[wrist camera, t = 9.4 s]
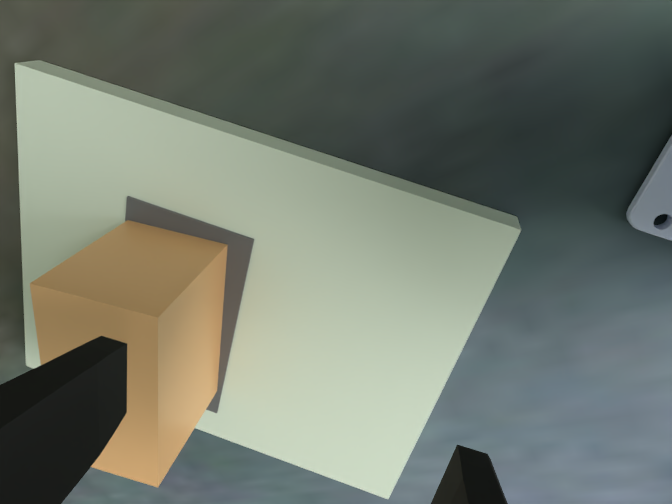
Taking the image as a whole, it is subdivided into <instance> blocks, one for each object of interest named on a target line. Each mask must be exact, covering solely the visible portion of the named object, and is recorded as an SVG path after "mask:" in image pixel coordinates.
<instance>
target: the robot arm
mask: <svg viewBox="0 0 672 504" xmlns="http://www.w3.org/2000/svg"><path fill="white" fill-rule="evenodd" d="M661 214H667V215H668V217H667V220H666V221H665V222H664V223H662V224H660V225H654V224H653V223H654V219H655V218H656V217H657V216H659V215H661ZM626 216H627V220H628V221H629V223H630V224H631V225H632V226H633V227H634V228H636V229H637V230H640V231H643V232H646V233H649V234H652V235H655V236H658V237H661V238H664V239H667V240H671V241H672V135H671V137H670V139H669V140H668V142H667V144H666V145H665V147H664V149H663V150H662V152H661V154H660V155H659V157H658V159H657V160H656V162H655V164H654V165H653V167H652V169H651V170H650V172H649V174H648V176H647V177H646V179H645V181H644V182H643V184H642V186H641V187H640V189H639V191H638V192H637V194H636V196H635V197H634V199H633V201H632V202H631V204H630V206H629V207H628V210H627V213H626ZM126 413H127V343H124V342H121V341H117V340H114V339H111V338H108V337H104V336H99V337H97V338H95V339H93V340H91V341H89V342H87V343H85V344H83V345H81V346H79V347H77V348H75V349H73V350H71V351H69V352H67V353H65V354H63V355H61V356H59V357H57V358H55V359H53V360H51V361H49V362H47V363H45V364H43V365H41V366H39V367H37V368H35V369H32V370H30V371H28V372H26V373H24V374H22V375H20V376H18V377H16V378H14V379H12V380H10V381H8V382H6V383H4V384H1V385H0V504H61V503H62V502H63V500H64V499H65V498H66V497H67V496H68V494H69V493H70V492H71V491H72V489H73V488H74V487H75V486H76V484H77V483H78V482H79V481H80V479H81V478H82V477H83V476H84V475H85V473H86V472H87V471H88V470H89V468H90V467H91V466H92V465H93V463H94V462H95V461H96V459H97V458H98V457H99V456H100V454H101V453H102V451H103V450H104V448H105V447H106V445H107V443H108V442H109V440H110V439H111V437H112V436H113V434H114V433H115V431H116V429H117V428H118V426H119V424H120V423H121V421H122V420H123V418H124V416H125V415H126ZM431 504H508V503H507V501H506V498H505V496H504V493H503V491H502V488H501V486H500V483H499V481H498V478H497V475H496V473H495V470H494V467H493V465H492V462H491V460H490V458H489V456H488V454H486V453H483V452H479V451H476V450H473V449H470V448H466V447H463V446H460V445H457V447H456V449H455V451H454V453H453V456H452V458H451V460H450V462H449V465H448V467H447V469H446V471H445V473H444V476H443V478H442V480H441V482H440V485H439V487H438V489H437V491H436V494H435V496H434V498H433V500H432V503H431Z"/></svg>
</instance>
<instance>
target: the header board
mask: <svg viewBox="0 0 672 504" xmlns="http://www.w3.org/2000/svg"><path fill="white" fill-rule="evenodd" d="M15 86H16V113H17V139H18V166H19V193H20V220H21V246H22V273H23V300H24V326H25V353H26V366H28V367H31V368H34V369H35V368H37V367H39V366H41V362H40V355H39V348H38V341H37V333H36V326H35V319H34V311H33V304H32V297H31V290H30V283H31V282H32V281H34V280H36V279H37V278H39V277H40V276H42V275H43V274H45V273H46V272H48V271H50V270H51V269H53V268H54V267H56V266H57V265H59V264H60V263H62V262H63V261H65V260H67V259H68V258H70V257H71V256H73V255H74V254H76V253H77V252H79V251H80V250H82V249H84V248H85V247H87V246H88V245H90V244H91V243H93V242H94V241H96V240H97V239H99V238H101V237H102V236H104V235H105V234H107V233H108V232H110V231H111V230H113V229H115V228H116V227H118V226H119V225H121V224H122V223H124V222H125V221H127V220H130V221H134V222H138V223H142V224H146V225H150V226H154V227H158V228H162V229H166V230H170V231H174V232H178V233H182V234H186V235H190V236H195V237H199V238H203V239H207V240H211V241H215V242H219V243H223V244H227V245H228V247H227V261H226V274H225V288H224V302H223V316H222V330H221V344H220V358H219V372H218V386H217V392H216V394H215V395H214V397H213V399H212V400H211V402H210V404H209V405H208V407H207V408H206V410H205V412H204V413H203V415H202V417H201V418H200V420H199V421H198V423H197V425H196V426H195V428H196V429H199V430H202V431H204V432H207V433H210V434H213V435H215V436H218V437H221V438H223V439H226V440H229V441H231V442H234V443H237V444H240V445H242V446H245V447H248V448H250V449H253V450H256V451H259V452H261V453H264V454H267V455H269V456H272V457H275V458H277V459H280V460H283V461H286V462H288V463H291V464H294V465H296V466H299V467H302V468H305V469H307V470H310V471H313V472H315V473H318V474H321V475H324V476H326V477H329V478H332V479H334V480H337V481H340V482H342V483H345V484H348V485H351V486H353V487H356V488H359V489H361V490H364V491H367V492H370V493H372V494H375V495H378V496H380V497H383V498H386V499H389V497H390V495H391V493H392V491H393V489H394V486H395V484H396V482H397V480H398V478H399V476H400V474H401V472H402V470H403V468H404V466H405V464H406V462H407V460H408V458H409V456H410V454H411V452H412V450H413V448H414V446H415V444H416V442H417V440H418V438H419V436H420V434H421V432H422V430H423V428H424V426H425V424H426V422H427V420H428V418H429V416H430V414H431V412H432V410H433V408H434V406H435V404H436V402H437V400H438V398H439V396H440V394H441V392H442V390H443V388H444V385H445V383H446V381H447V379H448V377H449V375H450V373H451V371H452V369H453V367H454V365H455V363H456V361H457V359H458V357H459V355H460V353H461V351H462V349H463V347H464V345H465V343H466V341H467V339H468V337H469V335H470V333H471V331H472V329H473V327H474V325H475V323H476V321H477V319H478V317H479V315H480V313H481V311H482V309H483V307H484V305H485V303H486V301H487V299H488V297H489V295H490V293H491V291H492V289H493V287H494V285H495V282H496V280H497V278H498V276H499V274H500V272H501V270H502V268H503V266H504V264H505V262H506V260H507V258H508V256H509V254H510V252H511V250H512V248H513V246H514V244H515V242H516V240H517V238H518V236H519V234H520V232H521V227H520V224H519V221H518V218H517V216H514V215H511V214H508V213H505V212H501V211H498V210H495V209H492V208H489V207H486V206H483V205H480V204H477V203H474V202H471V201H468V200H465V199H462V198H459V197H456V196H453V195H450V194H447V193H444V192H441V191H437V190H434V189H431V188H428V187H425V186H422V185H419V184H416V183H413V182H410V181H407V180H404V179H401V178H398V177H395V176H392V175H389V174H386V173H383V172H380V171H376V170H373V169H370V168H367V167H364V166H361V165H358V164H355V163H352V162H349V161H346V160H343V159H340V158H337V157H334V156H331V155H328V154H325V153H322V152H319V151H316V150H312V149H309V148H306V147H303V146H300V145H297V144H294V143H291V142H288V141H285V140H282V139H279V138H276V137H273V136H270V135H267V134H264V133H261V132H258V131H255V130H252V129H248V128H245V127H242V126H239V125H236V124H233V123H230V122H227V121H224V120H221V119H218V118H215V117H212V116H209V115H206V114H203V113H200V112H197V111H194V110H191V109H188V108H184V107H181V106H178V105H175V104H172V103H169V102H166V101H163V100H160V99H157V98H154V97H151V96H148V95H145V94H142V93H139V92H136V91H133V90H130V89H127V88H123V87H120V86H117V85H114V84H111V83H108V82H105V81H102V80H99V79H96V78H93V77H90V76H87V75H84V74H81V73H78V72H75V71H72V70H69V69H66V68H63V67H59V66H56V65H53V64H50V63H47V62H44V61H41V60H36V61H28V62H19V63H15Z"/></svg>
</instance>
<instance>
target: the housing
mask: <svg viewBox="0 0 672 504" xmlns="http://www.w3.org/2000/svg"><path fill="white" fill-rule="evenodd" d="M227 247H228V245H227V244H223V243H219V242H215V241H211V240H207V239H203V238H199V237H195V236H190V235H186V234H182V233H178V232H174V231H170V230H166V229H162V228H158V227H154V226H150V225H146V224H142V223H138V222H134V221H130V220H127V221H125V222H124V223H122V224H121V225H119V226H118V227H116V228H115V229H113V230H111V231H110V232H108V233H107V234H105V235H104V236H102V237H101V238H99V239H97V240H96V241H94V242H93V243H91V244H90V245H88V246H87V247H85V248H84V249H82V250H80V251H79V252H77V253H76V254H74V255H73V256H71V257H70V258H68V259H67V260H65V261H63V262H62V263H60V264H59V265H57V266H56V267H54V268H53V269H51V270H50V271H48V272H46V273H45V274H43V275H42V276H40V277H39V278H37V279H36V280H34V281H32V282H31V283H30V290H31V297H32V304H33V311H34V319H35V326H36V333H37V341H38V348H39V355H40V362H41V365H43V364H45V363H47V362H49V361H51V360H53V359H55V358H57V357H59V356H61V355H63V354H65V353H67V352H69V351H71V350H73V349H75V348H77V347H79V346H81V345H83V344H85V343H87V342H89V341H91V340H93V339H95V338H97V337H99V336H104V337H108V338H111V339H114V340H117V341H121V342H124V343H127V413H126V415H125V416H124V418H123V420H122V421H121V423H120V424H119V426H118V428H117V429H116V431H115V433H114V434H113V436H112V437H111V439H110V440H109V442H108V443H107V445H106V447H105V448H104V450H103V451H102V453H101V454H100V456H99V457H98V458H97V459H96V461H95V462H94V463H93V465H92V466H91V467H93V468H96V469H99V470H103V471H106V472H109V473H112V474H116V475H119V476H122V477H125V478H129V479H132V480H135V481H139V482H142V483H145V484H148V485H152V486H155V487H159V485H160V483H161V482H162V480H163V478H164V477H165V475H166V474H167V472H168V470H169V469H170V467H171V465H172V464H173V462H174V461H175V459H176V457H177V456H178V454H179V452H180V451H181V449H182V447H183V446H184V444H185V443H186V441H187V439H188V438H189V436H190V434H191V433H192V431H193V430H194V428H195V426H196V425H197V423H198V421H199V420H200V418H201V417H202V415H203V413H204V412H205V410H206V408H207V407H208V405H209V404H210V402H211V400H212V399H213V397H214V395H215V394H216V392H217V386H218V372H219V358H220V344H221V330H222V316H223V302H224V288H225V274H226V261H227Z"/></svg>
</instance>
